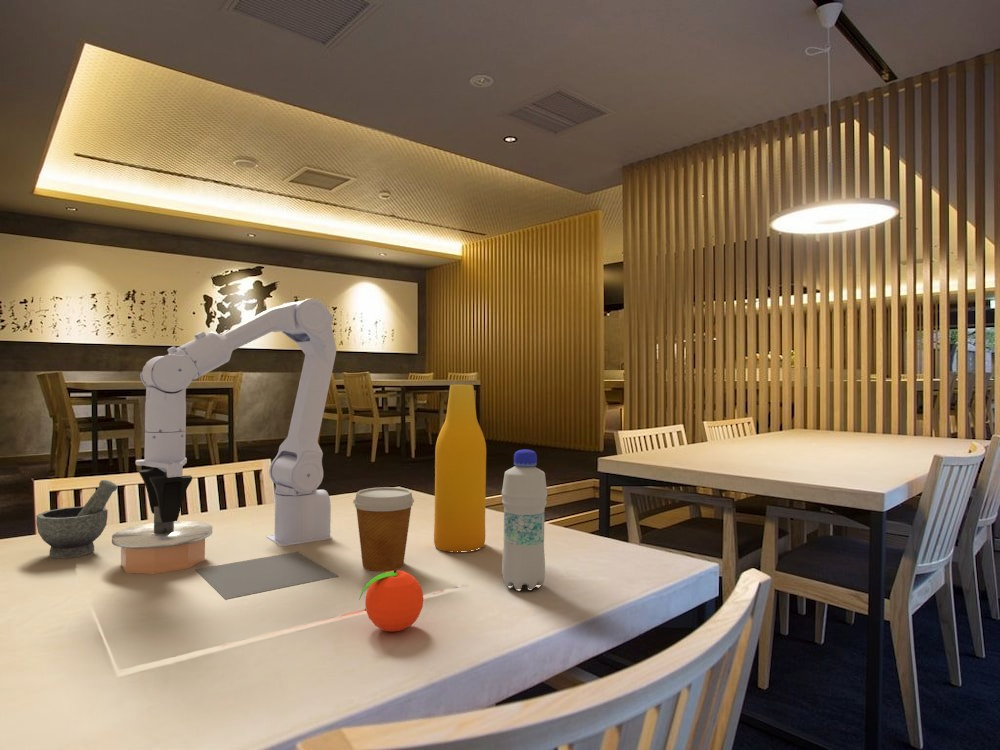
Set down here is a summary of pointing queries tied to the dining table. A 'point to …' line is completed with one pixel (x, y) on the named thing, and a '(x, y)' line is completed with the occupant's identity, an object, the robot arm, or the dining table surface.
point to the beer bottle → (460, 476)
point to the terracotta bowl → (162, 558)
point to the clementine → (393, 600)
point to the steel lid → (161, 534)
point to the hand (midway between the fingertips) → (164, 516)
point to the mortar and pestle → (76, 524)
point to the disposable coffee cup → (383, 526)
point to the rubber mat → (263, 574)
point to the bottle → (524, 522)
